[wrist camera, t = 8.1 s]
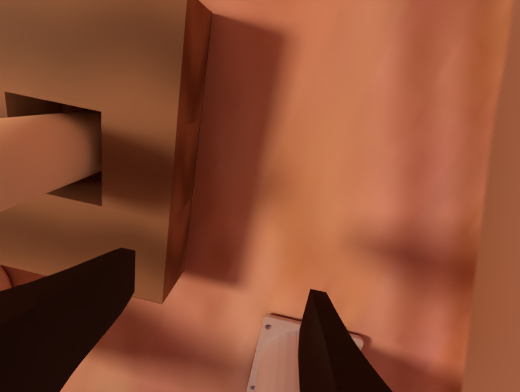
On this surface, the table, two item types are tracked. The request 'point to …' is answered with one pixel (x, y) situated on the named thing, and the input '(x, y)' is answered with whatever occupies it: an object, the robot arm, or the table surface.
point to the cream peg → (47, 153)
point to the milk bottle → (4, 280)
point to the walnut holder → (109, 129)
